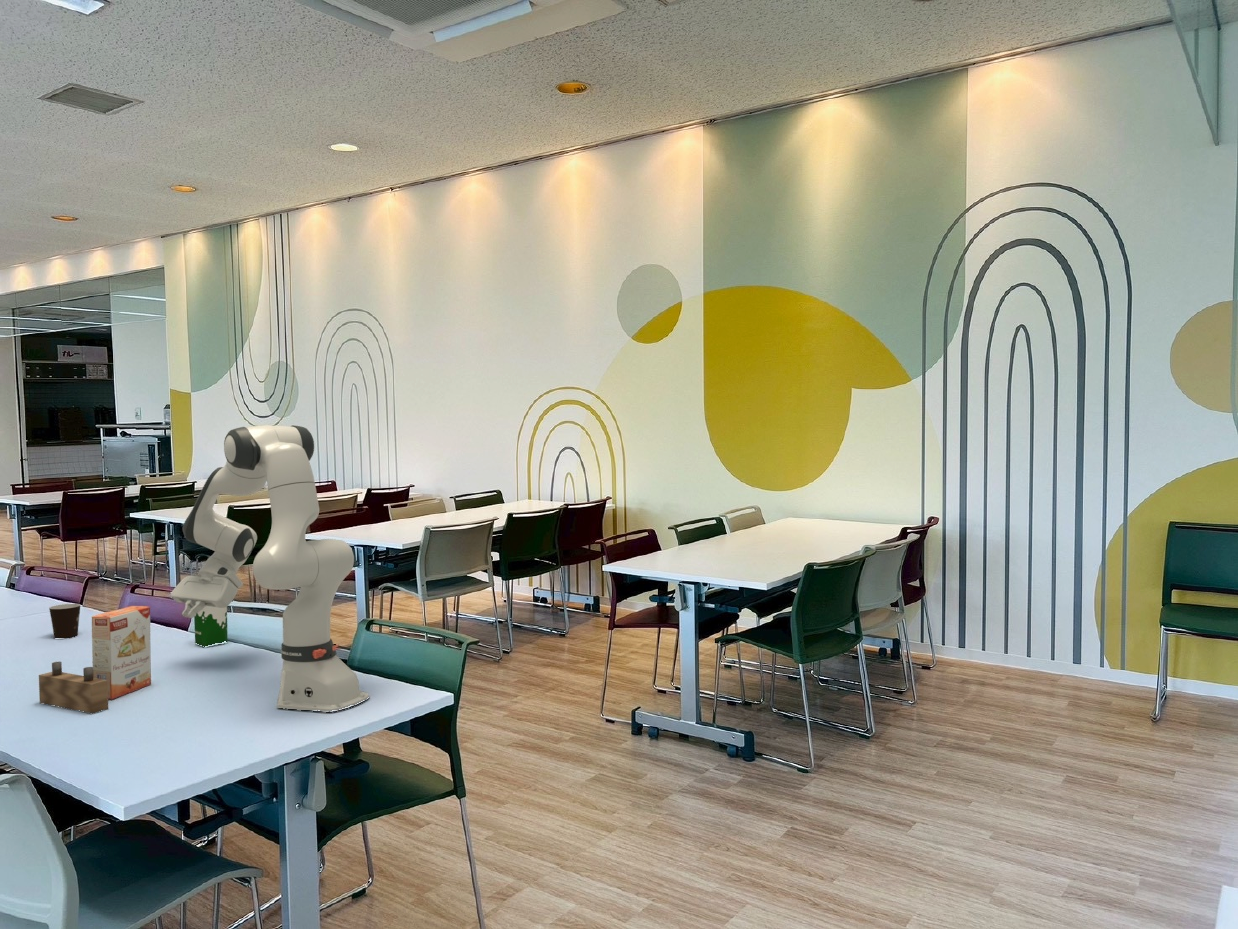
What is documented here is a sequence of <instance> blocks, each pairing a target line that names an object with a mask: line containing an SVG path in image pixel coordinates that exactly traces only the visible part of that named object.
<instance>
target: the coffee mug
mask: <svg viewBox="0 0 1238 929" xmlns="http://www.w3.org/2000/svg"><path fill="white" fill-rule="evenodd" d="M80 613H81V604H80V603H64V604H63V603H62V604H56V605H52V606H49V615H50V619H51V626H52V632H53V638H54V639H55V638H69V639H73V638H72V637H74V638H76V637H75V636H77V635H78V634H79V633H78V632H79V624H80ZM77 637H78V636H77Z"/></svg>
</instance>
